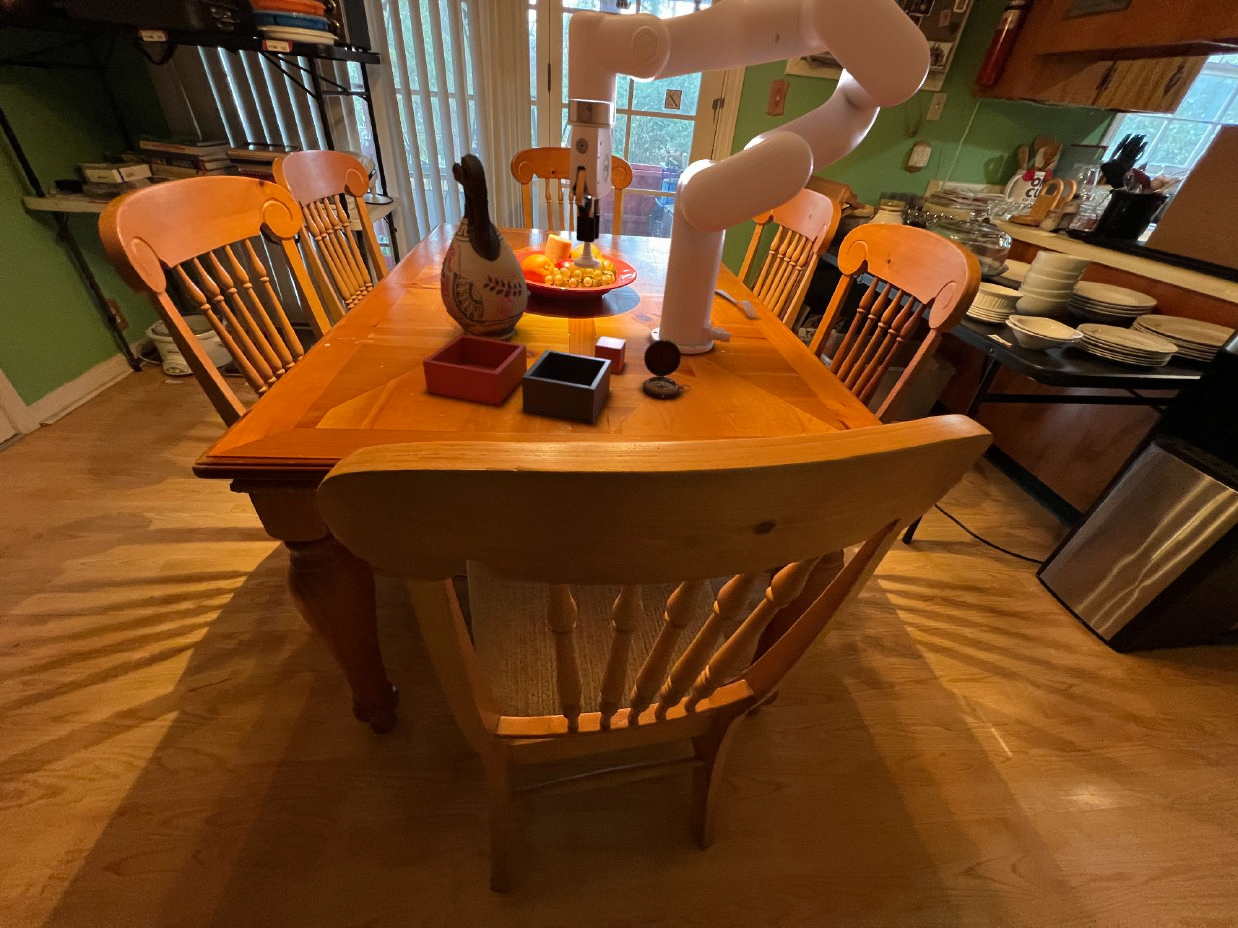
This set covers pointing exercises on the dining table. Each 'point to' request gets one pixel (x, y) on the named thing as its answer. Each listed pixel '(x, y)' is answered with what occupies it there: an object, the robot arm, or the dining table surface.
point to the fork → (739, 302)
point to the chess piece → (587, 258)
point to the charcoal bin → (566, 386)
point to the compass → (662, 369)
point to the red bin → (476, 369)
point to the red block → (611, 352)
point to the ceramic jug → (481, 265)
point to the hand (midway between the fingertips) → (587, 239)
